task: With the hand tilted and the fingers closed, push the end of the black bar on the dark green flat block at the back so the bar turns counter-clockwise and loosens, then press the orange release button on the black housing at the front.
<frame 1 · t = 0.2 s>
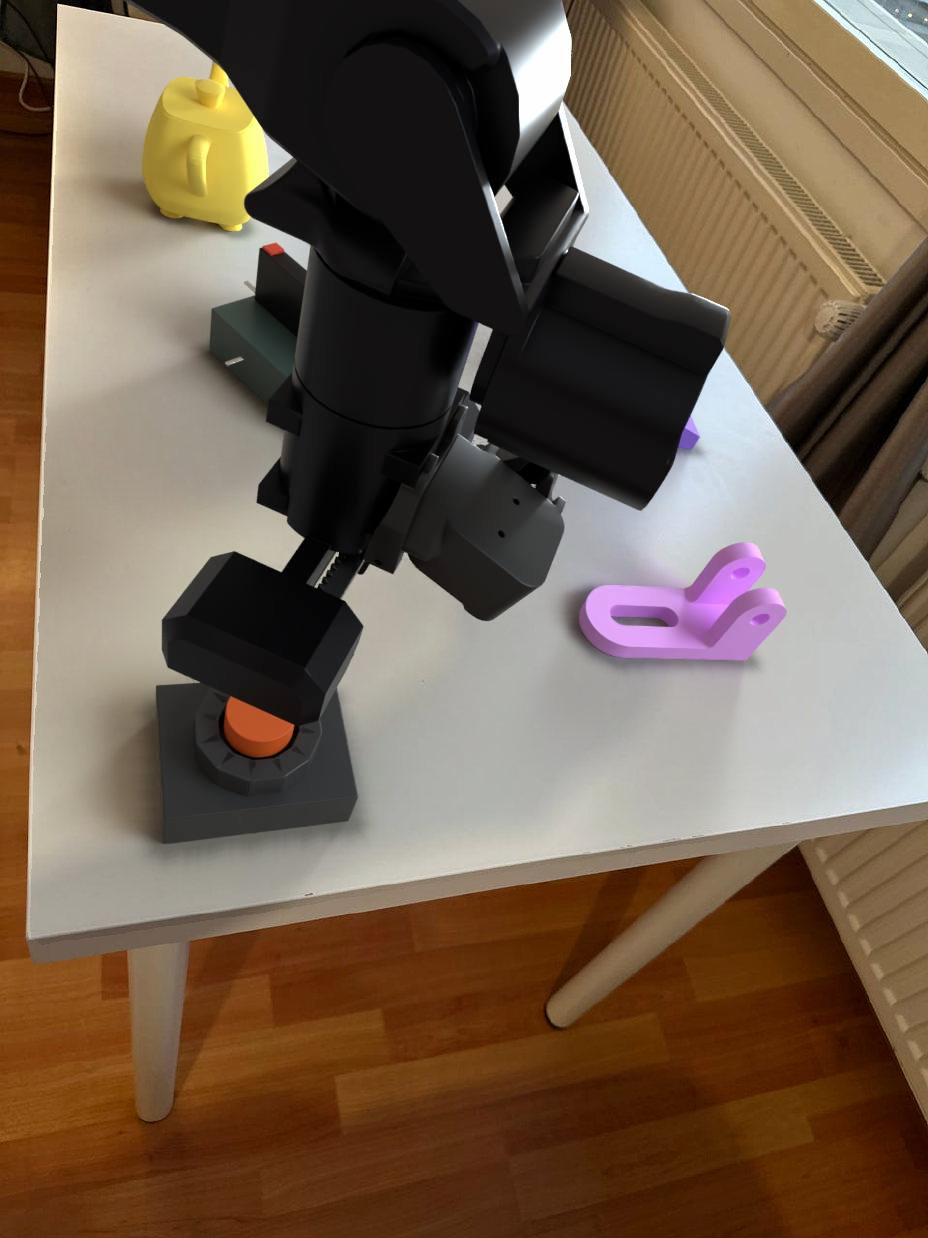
hand: (316, 632, 43), 12 cm above the table, tool pointing down, fingers open, 9 cm apart
bracket: (623, 418, 81), on the table
bracket 2: (657, 629, 66), on the table
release: (251, 767, 50), on the table
release button: (260, 719, 46), point 5 cm above the table, slide at 0.1 cm
dark green flat block: (300, 377, 72), on the table
black bar: (310, 310, 67), point 6 cm above the table, hinge at 0.0°
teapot: (206, 202, 83), on the table
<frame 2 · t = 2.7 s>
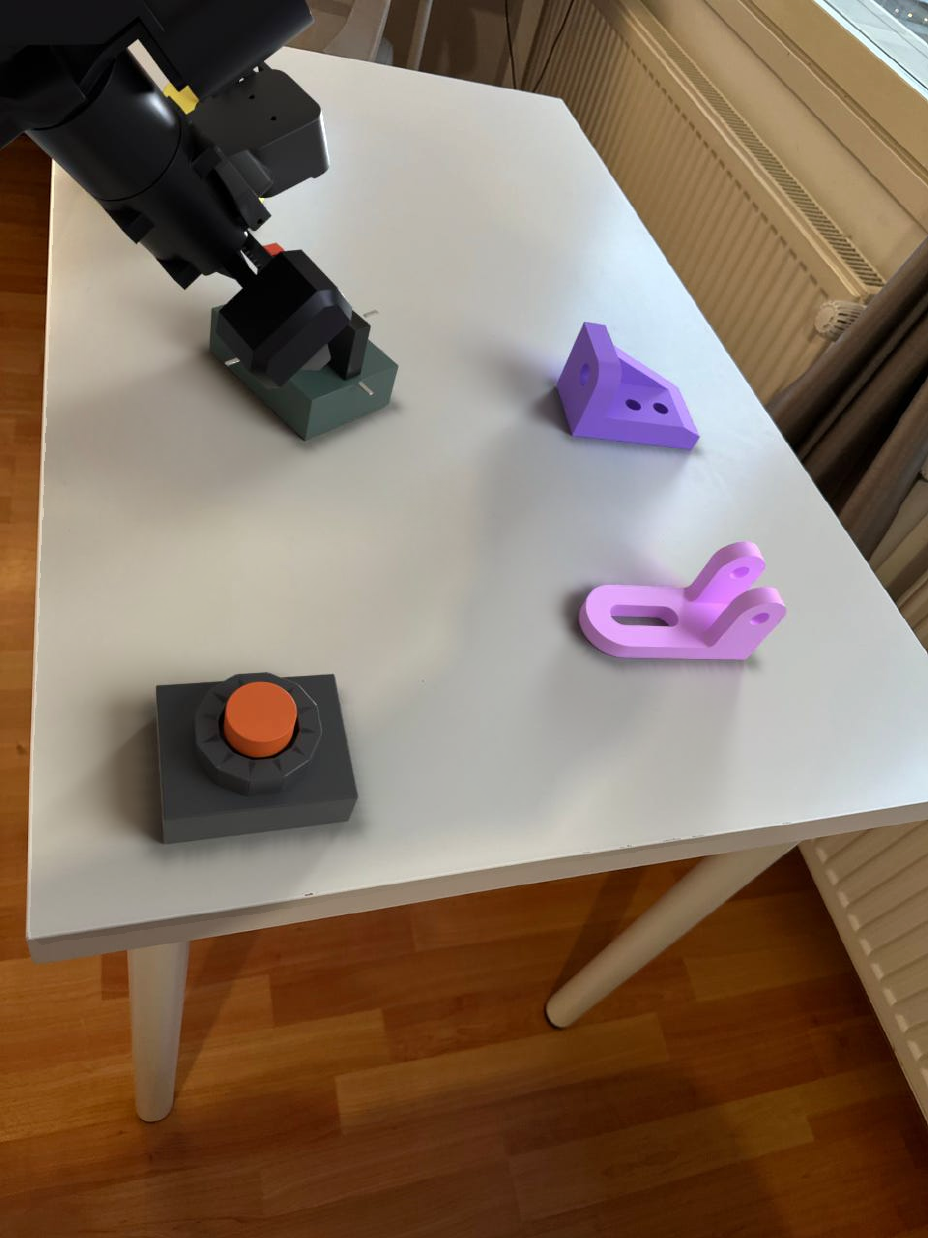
hand: (282, 317, 56), 12 cm above the table, tool tilted 40°, fingers open, 9 cm apart
nothing on the table moved.
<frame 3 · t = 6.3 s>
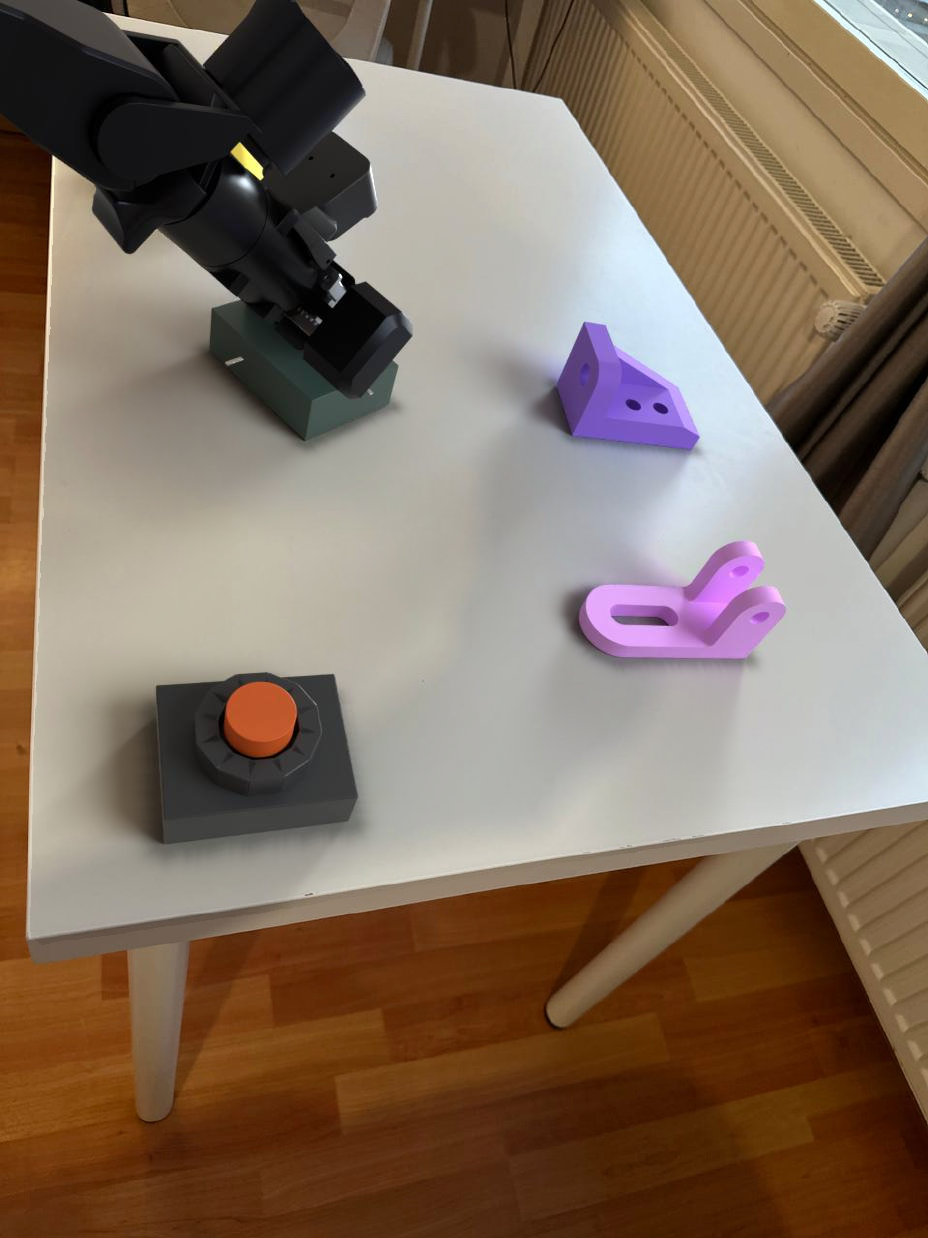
hand: (339, 329, 65), 7 cm above the table, tool tilted 45°, fingers closed
black bar: (310, 310, 67), point 6 cm above the table, hinge at 11.5°, touching gripper
everything else where it was.
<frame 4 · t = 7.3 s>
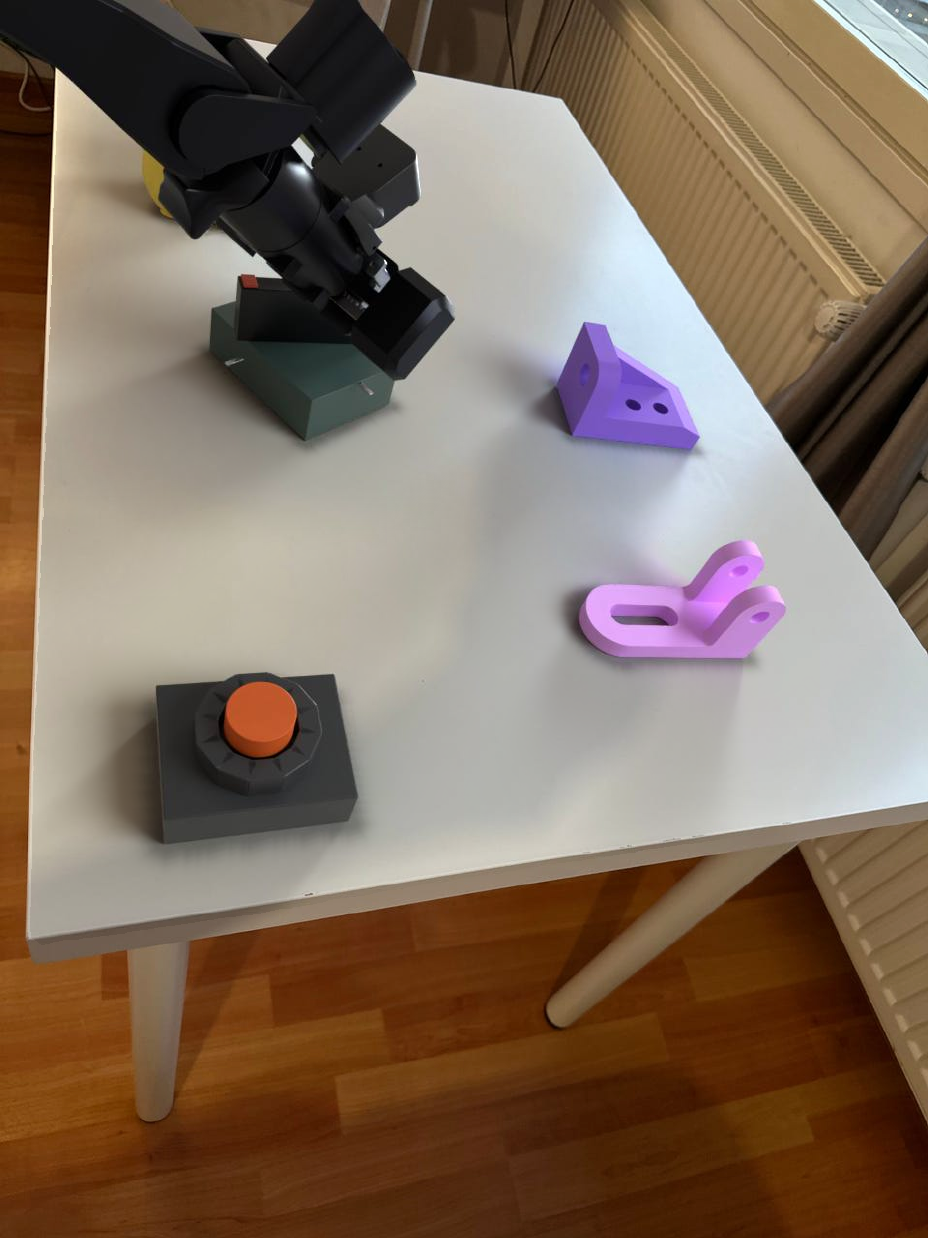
hand: (377, 315, 67), 7 cm above the table, tool tilted 45°, fingers closed
black bar: (310, 310, 67), point 6 cm above the table, hinge at 62.3°, touching gripper
everything else where it was.
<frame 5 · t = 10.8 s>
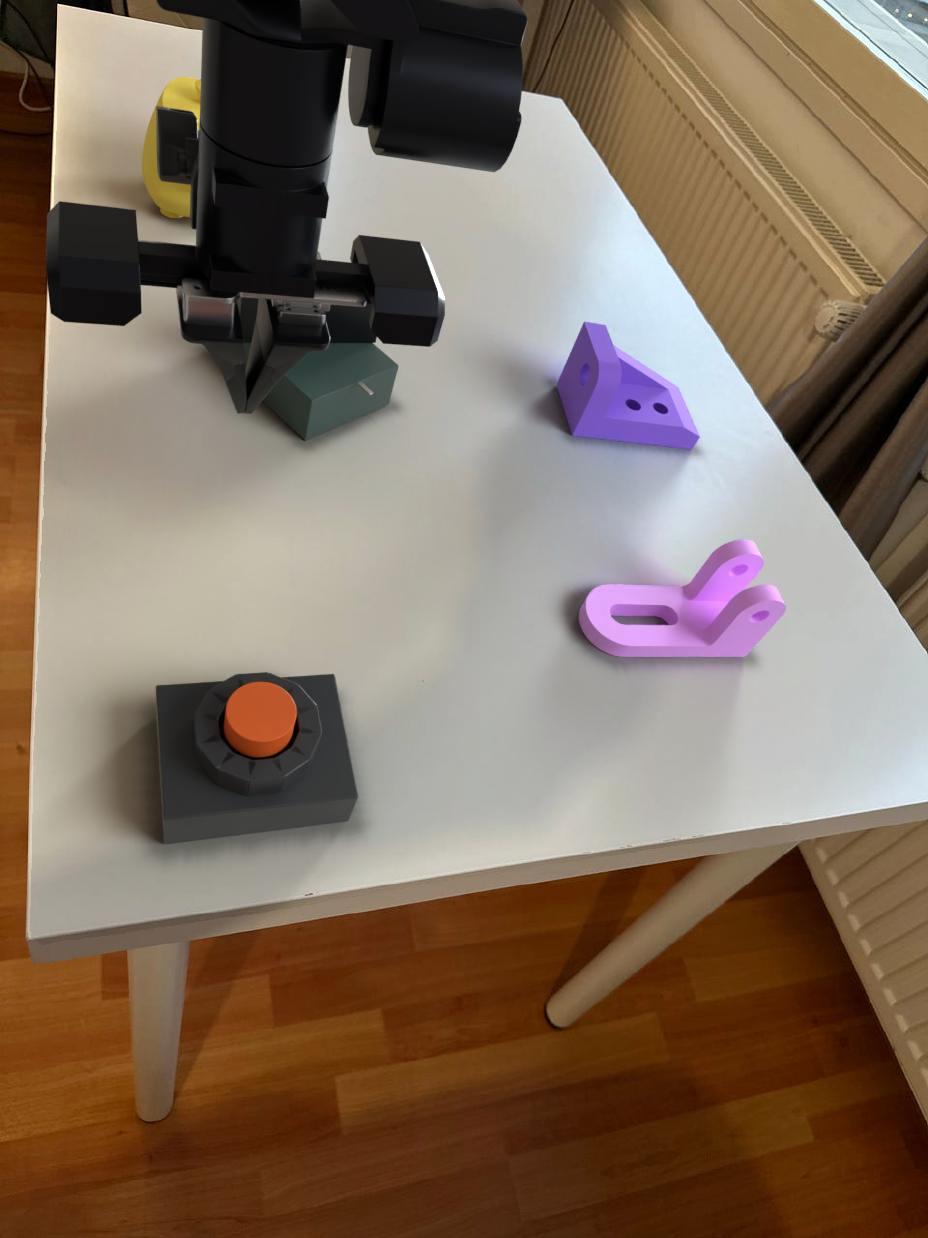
hand: (243, 408, 50), 12 cm above the table, tool pointing down, fingers closed
black bar: (310, 310, 67), point 6 cm above the table, hinge at 64.6°
everything else where it was.
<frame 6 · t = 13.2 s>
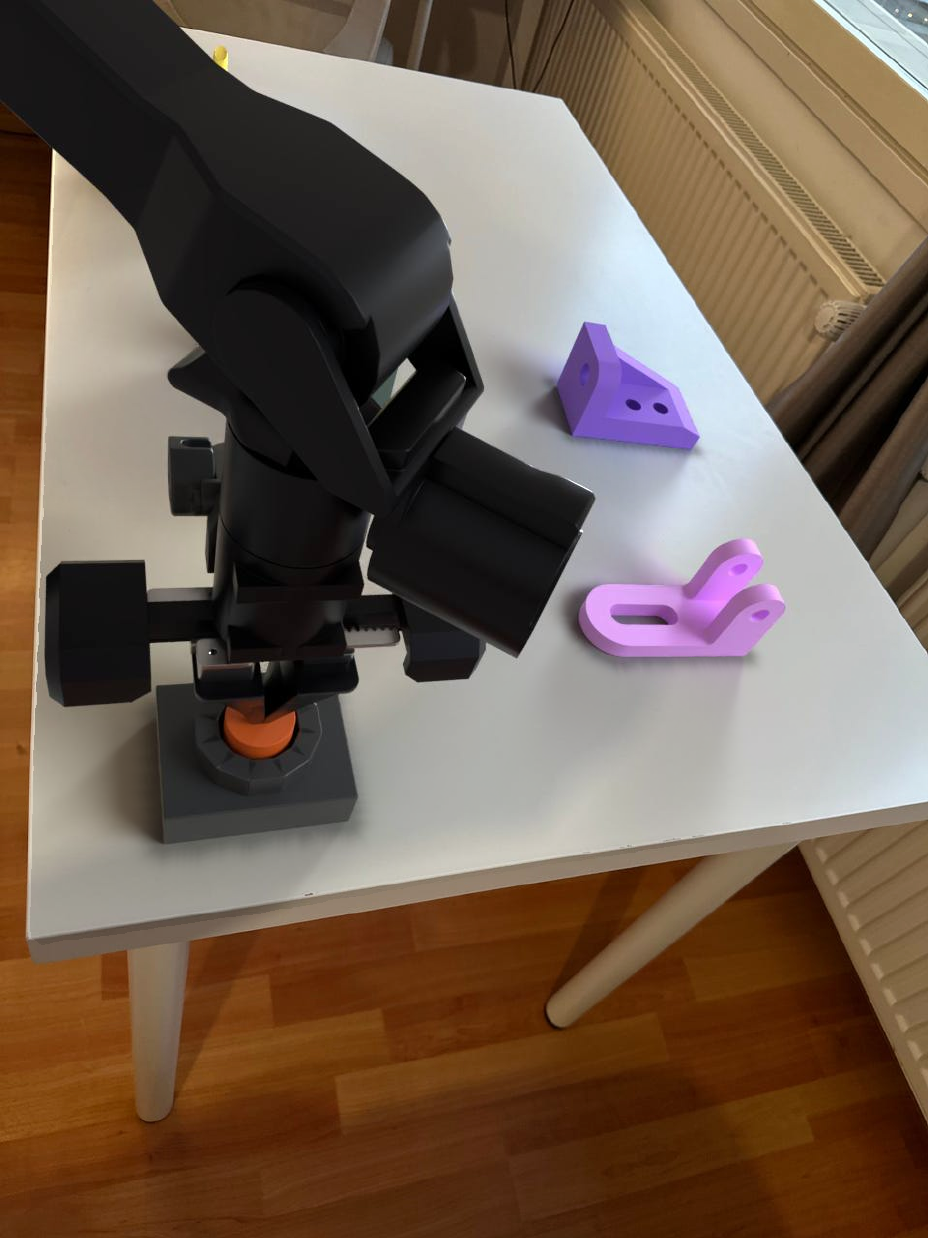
hand: (259, 715, 46), 6 cm above the table, tool pointing down, fingers closed, pressing on release button
release button: (259, 724, 46), point 5 cm above the table, slide at -0.4 cm, touching gripper
everything else where it was.
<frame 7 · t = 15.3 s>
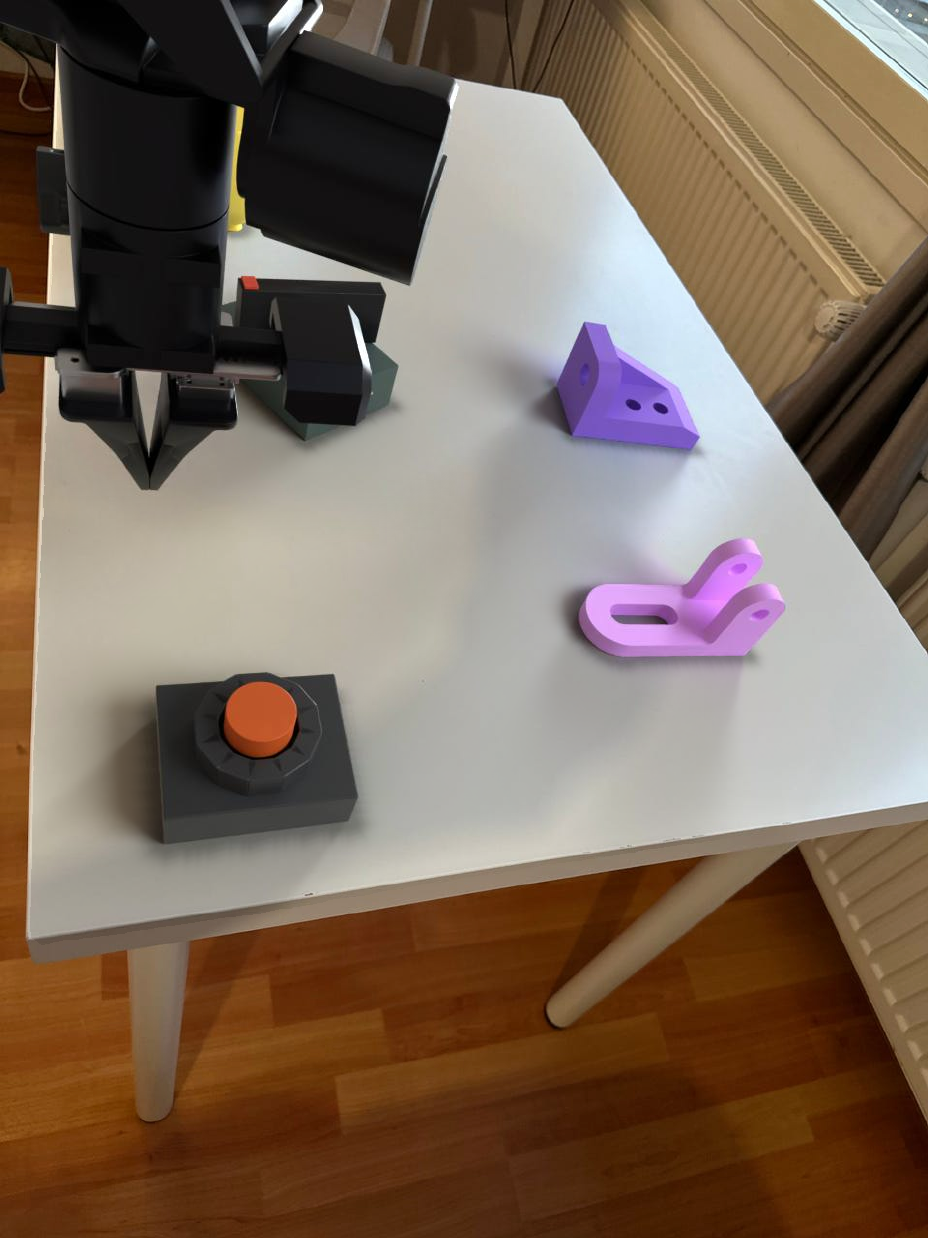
hand: (149, 483, 44), 13 cm above the table, tool pointing down, fingers closed
release button: (260, 719, 46), point 5 cm above the table, slide at 0.1 cm
everything else where it was.
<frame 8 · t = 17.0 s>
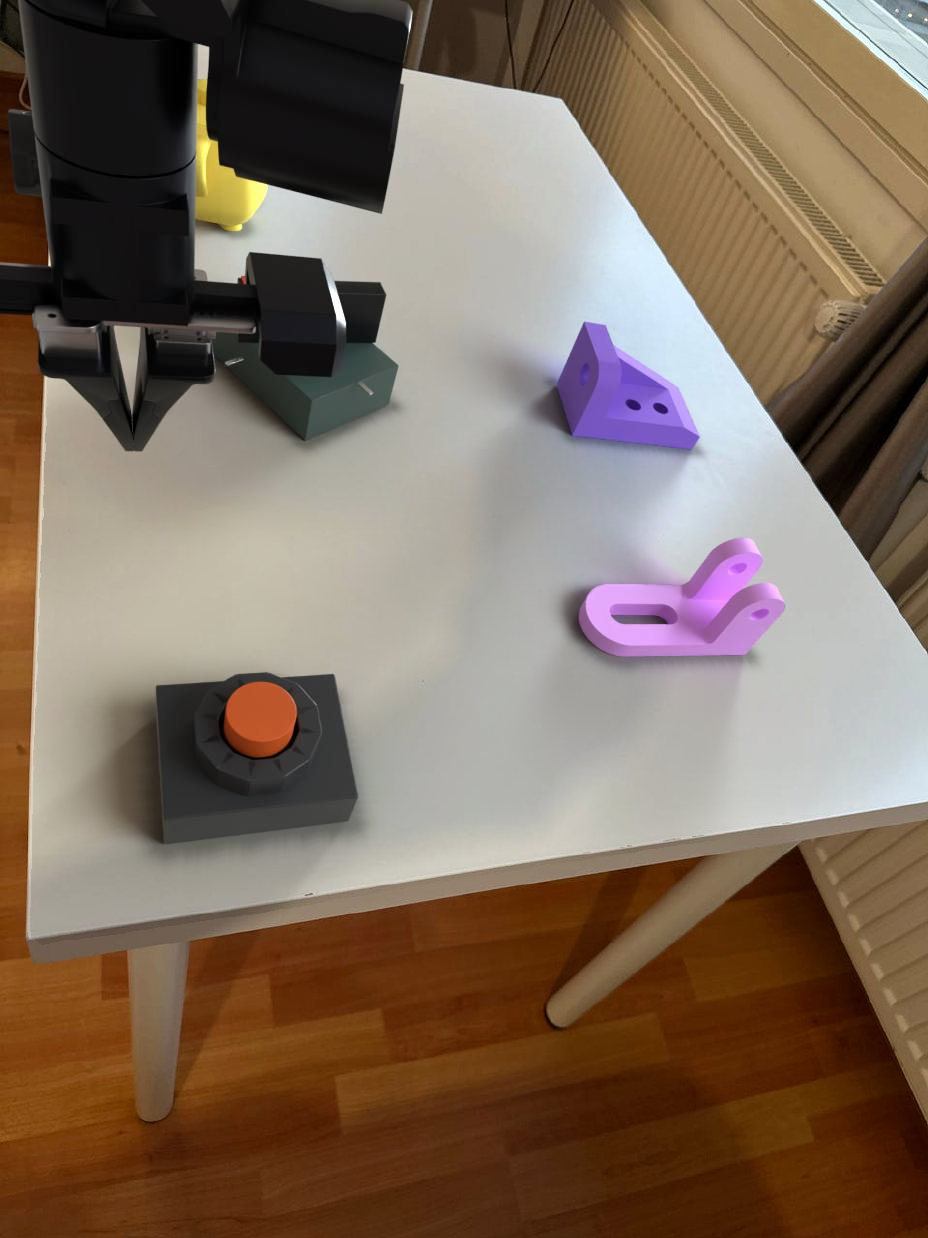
hand: (133, 445, 45), 13 cm above the table, tool pointing down, fingers closed
nothing on the table moved.
at the end: black bar at +65° (first picture: +0°); release button pushed in 1.1 cm at the most during the clip, back to where it started at the end; release button slide at 0.1 cm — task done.
